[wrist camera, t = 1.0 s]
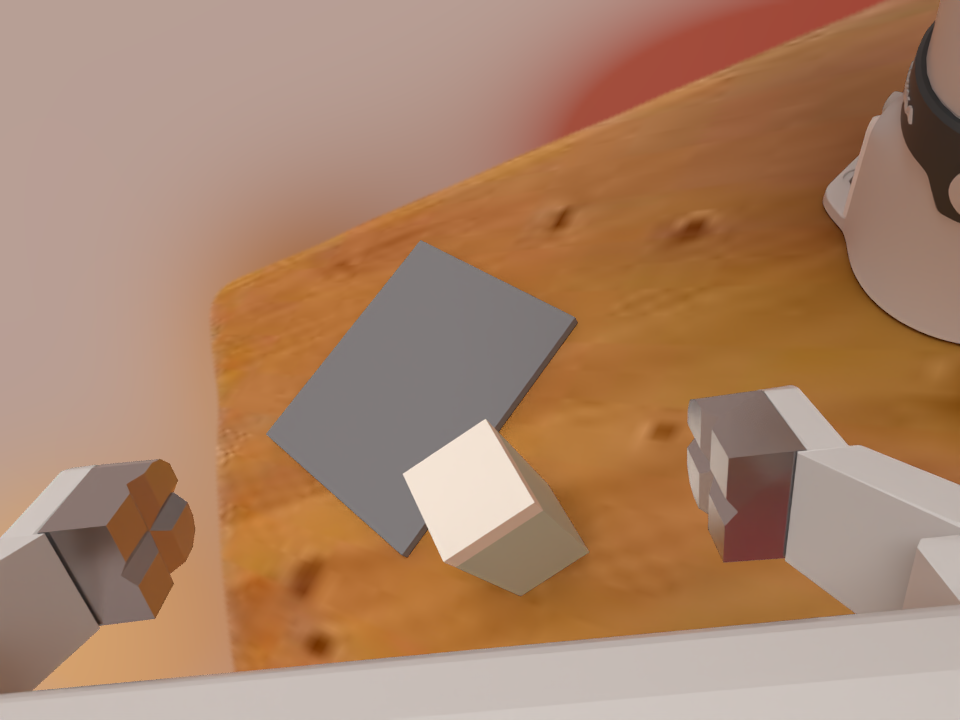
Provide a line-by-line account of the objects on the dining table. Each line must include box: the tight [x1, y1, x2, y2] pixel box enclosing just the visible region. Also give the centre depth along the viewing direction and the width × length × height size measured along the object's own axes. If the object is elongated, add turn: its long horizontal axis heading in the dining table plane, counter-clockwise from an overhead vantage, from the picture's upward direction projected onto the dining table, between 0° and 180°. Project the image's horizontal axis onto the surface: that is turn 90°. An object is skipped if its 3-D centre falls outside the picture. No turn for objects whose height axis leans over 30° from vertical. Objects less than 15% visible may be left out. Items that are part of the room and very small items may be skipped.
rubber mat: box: [266, 240, 577, 557], centre depth 49 cm, size 20×16×1 cm
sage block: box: [403, 419, 589, 596], centre depth 36 cm, size 5×5×12 cm
